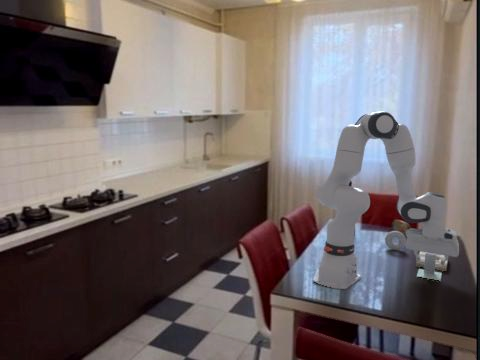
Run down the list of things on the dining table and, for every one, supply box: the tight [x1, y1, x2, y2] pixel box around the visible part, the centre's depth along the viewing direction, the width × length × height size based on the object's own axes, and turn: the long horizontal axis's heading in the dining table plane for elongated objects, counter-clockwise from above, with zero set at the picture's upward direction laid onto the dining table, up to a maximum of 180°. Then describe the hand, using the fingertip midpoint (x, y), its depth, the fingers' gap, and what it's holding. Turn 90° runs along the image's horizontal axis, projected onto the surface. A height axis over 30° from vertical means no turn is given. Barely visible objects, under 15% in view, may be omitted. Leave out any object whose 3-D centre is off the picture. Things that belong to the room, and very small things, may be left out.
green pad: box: [416, 268, 442, 282], centre depth 166 cm, size 9×9×1 cm
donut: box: [384, 230, 407, 251], centre depth 197 cm, size 10×4×10 cm, turn 69°
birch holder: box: [415, 251, 449, 272], centre depth 180 cm, size 16×12×3 cm
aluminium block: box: [423, 252, 436, 277], centre depth 165 cm, size 4×4×9 cm
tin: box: [391, 219, 412, 238], centre depth 222 cm, size 15×3×8 cm, turn 10°
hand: (430, 262), depth 165 cm, fingers open, 8 cm apart
